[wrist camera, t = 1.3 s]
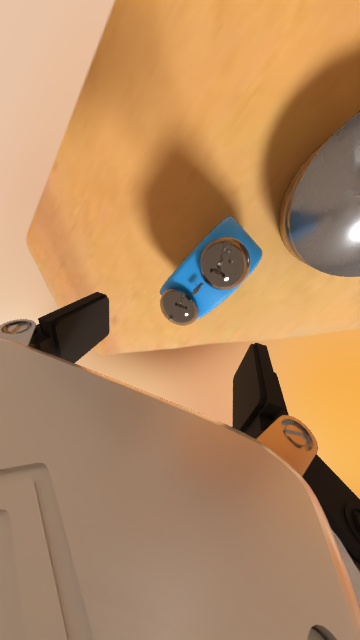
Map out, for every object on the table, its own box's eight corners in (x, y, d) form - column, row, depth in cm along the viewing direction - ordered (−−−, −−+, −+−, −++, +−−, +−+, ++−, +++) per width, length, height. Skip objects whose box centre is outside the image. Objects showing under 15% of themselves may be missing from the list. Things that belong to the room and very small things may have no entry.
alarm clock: (231, 216, 25) (226, 207, 13) (258, 247, 26) (279, 267, 14) (175, 277, 32) (136, 311, 20) (198, 300, 33) (175, 347, 20)
